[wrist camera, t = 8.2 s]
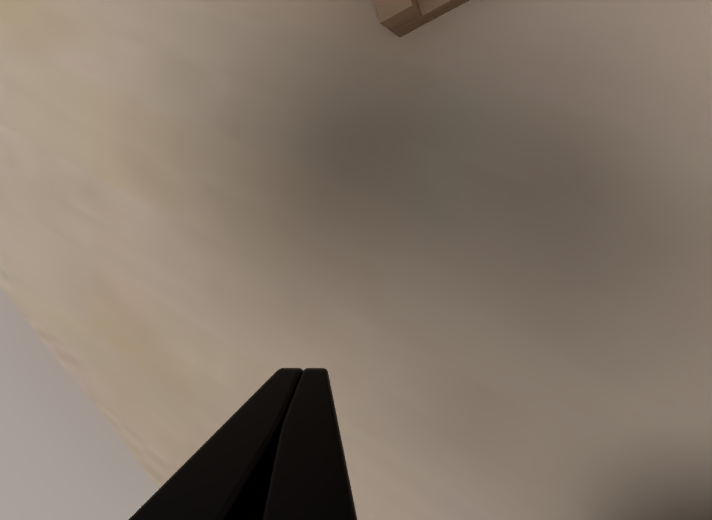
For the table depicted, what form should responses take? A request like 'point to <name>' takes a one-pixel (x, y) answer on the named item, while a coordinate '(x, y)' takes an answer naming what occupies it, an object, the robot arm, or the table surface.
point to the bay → (411, 13)
